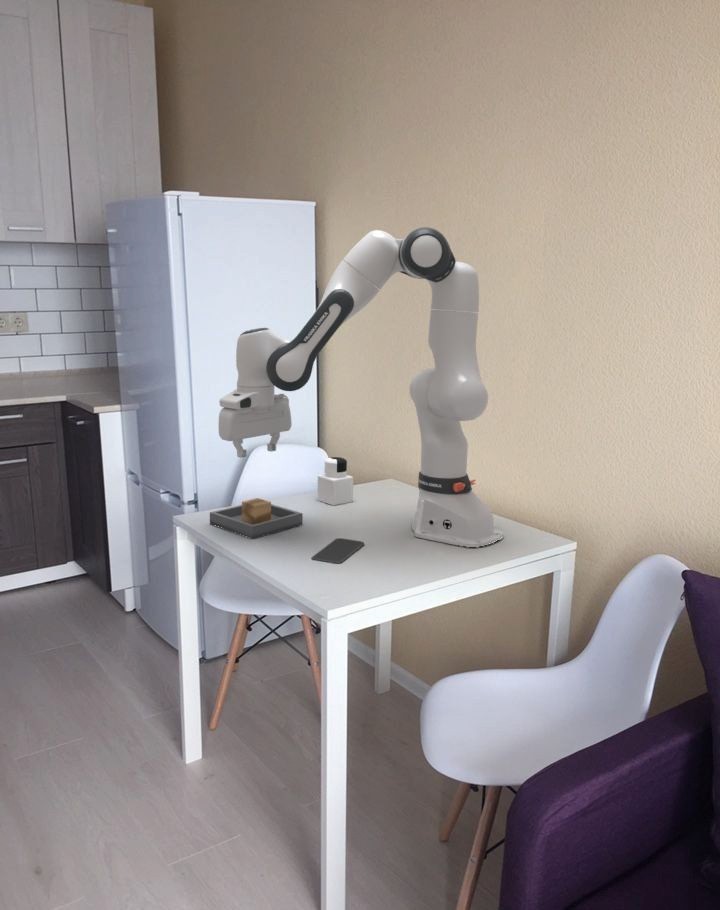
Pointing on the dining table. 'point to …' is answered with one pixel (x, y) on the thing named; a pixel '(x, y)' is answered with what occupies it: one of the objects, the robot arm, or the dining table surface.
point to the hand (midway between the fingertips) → (257, 454)
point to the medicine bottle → (335, 482)
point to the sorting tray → (278, 522)
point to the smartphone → (338, 551)
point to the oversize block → (256, 511)
